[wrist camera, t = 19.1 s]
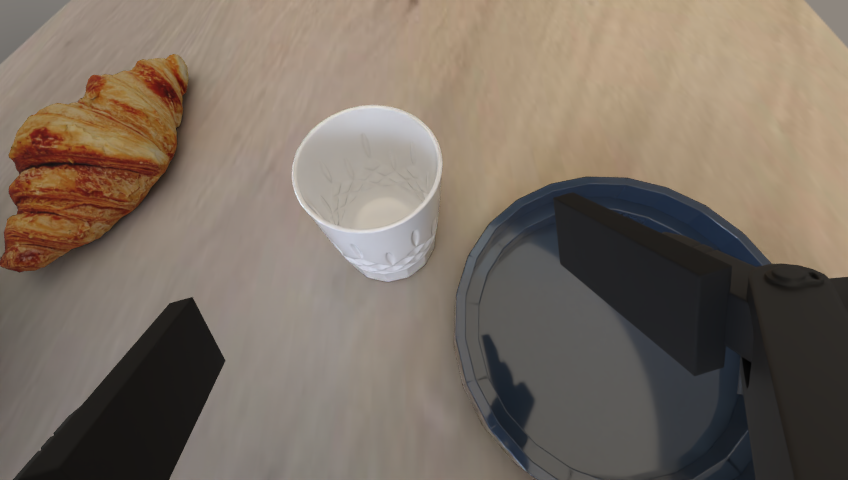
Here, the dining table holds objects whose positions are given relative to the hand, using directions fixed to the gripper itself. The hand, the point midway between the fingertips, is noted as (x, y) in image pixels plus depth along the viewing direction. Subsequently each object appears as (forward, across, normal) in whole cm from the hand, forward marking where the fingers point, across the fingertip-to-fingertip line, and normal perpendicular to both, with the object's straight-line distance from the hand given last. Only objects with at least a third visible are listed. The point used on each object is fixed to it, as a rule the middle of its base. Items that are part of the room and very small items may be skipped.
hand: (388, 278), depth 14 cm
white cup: (+15, 0, -4) cm, 16 cm away
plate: (+7, +12, -12) cm, 19 cm away
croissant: (+24, -19, +5) cm, 31 cm away
